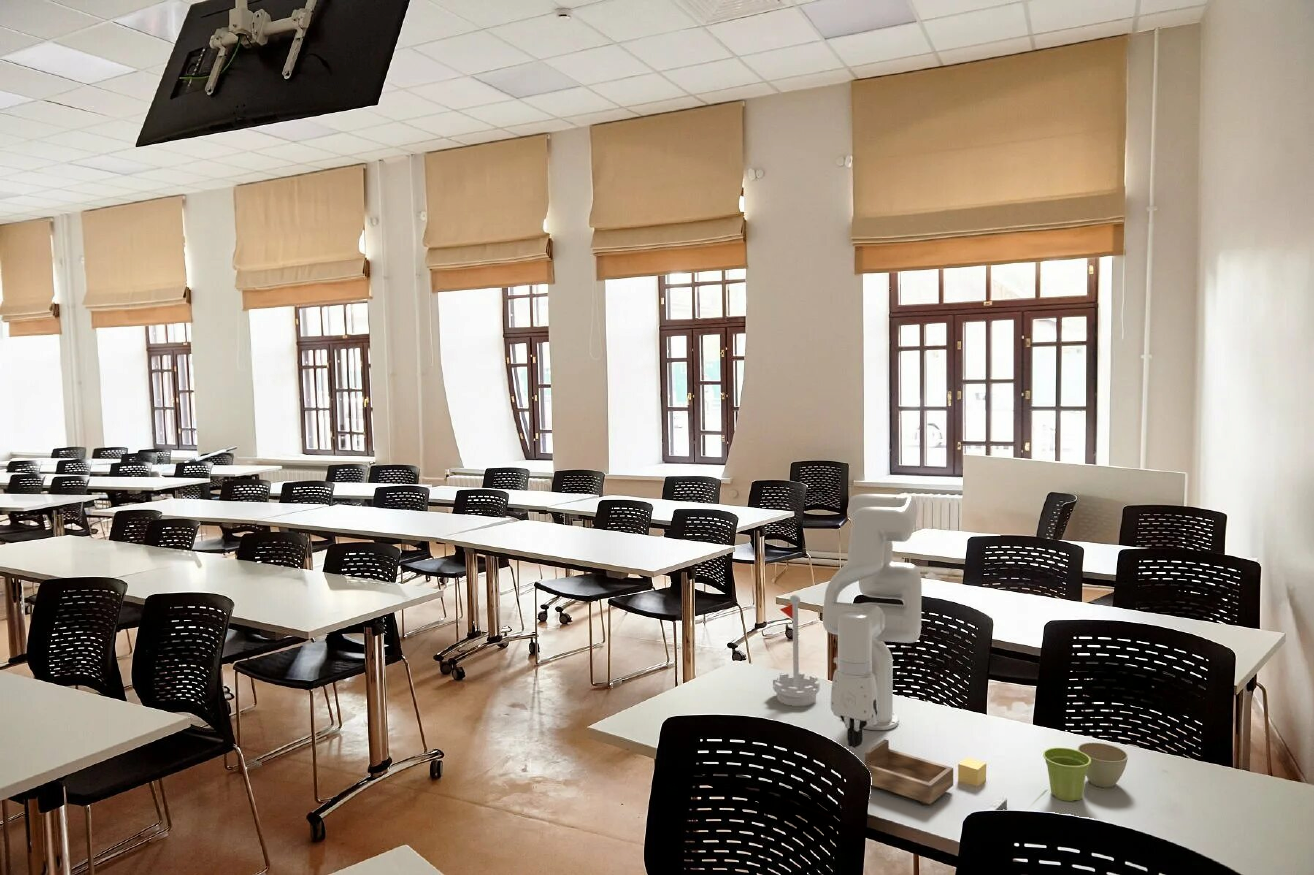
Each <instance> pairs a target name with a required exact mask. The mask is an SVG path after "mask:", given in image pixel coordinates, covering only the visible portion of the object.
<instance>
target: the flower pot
mask: <svg viewBox="0 0 1314 875" xmlns="http://www.w3.org/2000/svg"><path fill="white" fill-rule="evenodd" d="M1077 751H1080V752H1083V753H1085V754H1086V755H1088V756H1089V757H1090V759H1091V763H1090V765H1089V766H1088V769H1087V771H1086V776H1085V777H1086V778H1087V780H1088V781H1089V783H1090V784H1092V785H1094V786H1096V787H1100V788H1106V789H1107V788H1113V787H1114V786H1115V785H1116V784H1117V783H1118V782H1119V781H1120V779H1121V777H1122V775H1123V773H1124V772H1125V769H1126V766H1127V763H1128V758H1129V756H1128V753H1127V752H1126V751H1125V750H1124V749H1122V748H1120V747H1118V746H1115V745H1111V744H1109V743H1101V742H1085V743H1082V744H1079V745H1078V746H1077Z"/></svg>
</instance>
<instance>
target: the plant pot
mask: <svg viewBox="0 0 1314 875" xmlns="http://www.w3.org/2000/svg"><path fill="white" fill-rule="evenodd" d="M1042 756H1043V758H1044V760H1045V763H1046V766H1047V773H1048V779H1049V787H1050V793H1051V795H1053V796H1054V797H1055V798H1056V799H1058V800H1061V801H1066V802H1073V801H1075V800H1076V801H1080V800H1082V798H1083V792H1084V787H1085V780H1086V777H1087V776H1086V771H1087V769H1088V766H1089V765H1090V763H1091V759H1090V757H1089V756H1088V755H1086V754H1085V753H1083V752H1080V751H1078V749H1073V748H1067V747H1051V748H1048V749H1046V750H1044V751H1043V753H1042Z"/></svg>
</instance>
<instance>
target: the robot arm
mask: <svg viewBox="0 0 1314 875" xmlns="http://www.w3.org/2000/svg"><path fill="white" fill-rule="evenodd" d="M847 506H848V514H849V517H850V520H851V524H850V534H849V544H848V551H847V552H848V553H847V561H846V563H845V564H844V565H843V566H842V567H841V568H839V569H838V570H837V571H836V573H834V575H833V576H832V577H831V579H830V580H829V582H828V583H827V586H826V589H825V594H824V601H823V608H822V625H823V628H824V630H825V631H826V632H828V633H829V634H833V635H837V657H836V656H835V657H834V658H833V663H834V664H836V665H837V668H836V669H834V671H833V676H832V682H831V690H830V711H832V713H833V715H834V716H836V717H837V718H839V719H841V721H842V722H843V724H844V727H845V728H846V729H847V730H846V731H847V739H846V740H847V742H848V743H847V745H848V747H852V748H854V749H856V748H857V747H859V746H861V745H862V744H863V729H865V730H871V731H887V730H892V729H894V728H896V727H897V726H898V725H899V723H900V722H899V721H900V718H899V716H898V715H897V714H896V713H894V712H893V711H894V709H893V708H894V707H893V706H894V705H893V704H894V702H893V699H894V697H893V696H894V695H893V691H894V690H893V686H894V683H893V677H894V676H893V666H894V665H893V655H892V652H891V650H890V649H889V647H888V646H887V645H886V643H885V642H891V643H893V642H895V643H904V644H905V643H907V644H913V643H915V642H917V641H918V640H919V638H920V636H921V630H922V595H923V594H922V590H923V586H922V574H921V570H920V569H919V567H918V566H917V565H915V564H913V563H909V562H898V561H893V548H894V547H893V546H894V545H893V542H898V543H900V542H901V543H902V542H903V543H904V542H905V543H906V542H908V541H909V540H910V538H911V536H912V533H913V530H914V527H915V524H916V521H917V518H918V506H917V502H916V500H915V498H914V497H913V496H911V495H907V494H890V493H888V494H885V493H883V494H882V493H861V494H855V495H853V496H851V497H850V499H849V500H848V505H847ZM856 582H857V583H858V588H859V591H860V593H861V594H862V595H863V596H865V597H868V598H878V599H879V598H880V599H890V600H891V599H894V600H900V601H902V603H903V604H893V603H882V602H863V603H854V602H853V603H852V602H841V601H840V602H838V598H839V595H840V594H841V592H842V591H843V590H845V588H847V587H848V586H850V585H852V584H854V583H856Z"/></svg>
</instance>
